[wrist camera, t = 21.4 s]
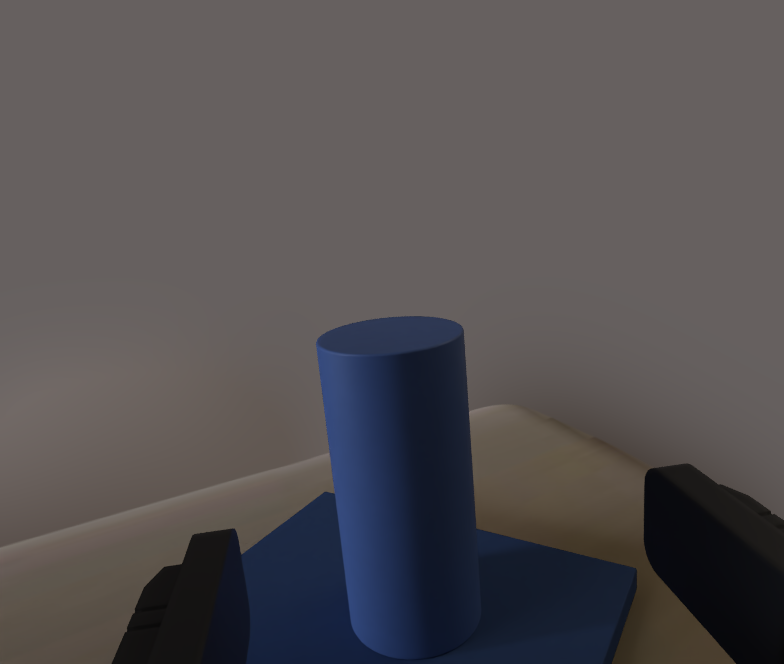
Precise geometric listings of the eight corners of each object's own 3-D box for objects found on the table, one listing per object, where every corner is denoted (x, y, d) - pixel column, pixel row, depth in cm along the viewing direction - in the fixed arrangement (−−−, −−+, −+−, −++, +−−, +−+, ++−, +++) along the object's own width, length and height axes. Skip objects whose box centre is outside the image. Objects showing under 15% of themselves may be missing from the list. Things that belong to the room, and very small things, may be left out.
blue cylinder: (323, 631, 23) (284, 347, 20) (395, 557, 27) (370, 313, 24) (443, 681, 20) (416, 360, 17) (502, 590, 24) (487, 318, 21)
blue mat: (137, 658, 23) (132, 636, 23) (327, 507, 33) (325, 490, 33) (539, 879, 15) (538, 848, 15) (636, 589, 25) (637, 567, 24)
